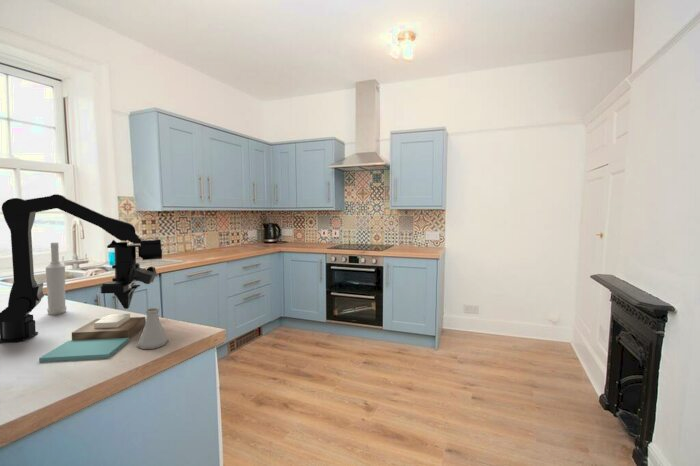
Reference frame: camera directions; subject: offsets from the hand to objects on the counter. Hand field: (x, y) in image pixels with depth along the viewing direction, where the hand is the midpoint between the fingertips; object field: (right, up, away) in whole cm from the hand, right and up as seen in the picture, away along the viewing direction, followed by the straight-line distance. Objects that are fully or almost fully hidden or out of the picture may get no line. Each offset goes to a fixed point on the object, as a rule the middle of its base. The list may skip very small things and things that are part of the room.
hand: (126, 308), depth 108 cm
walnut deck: (+2, -6, -9) cm, 11 cm away
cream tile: (+2, -2, -9) cm, 9 cm away
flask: (+18, -7, -16) cm, 26 cm away
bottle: (-31, -4, +10) cm, 33 cm away
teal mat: (+4, -6, -21) cm, 22 cm away
